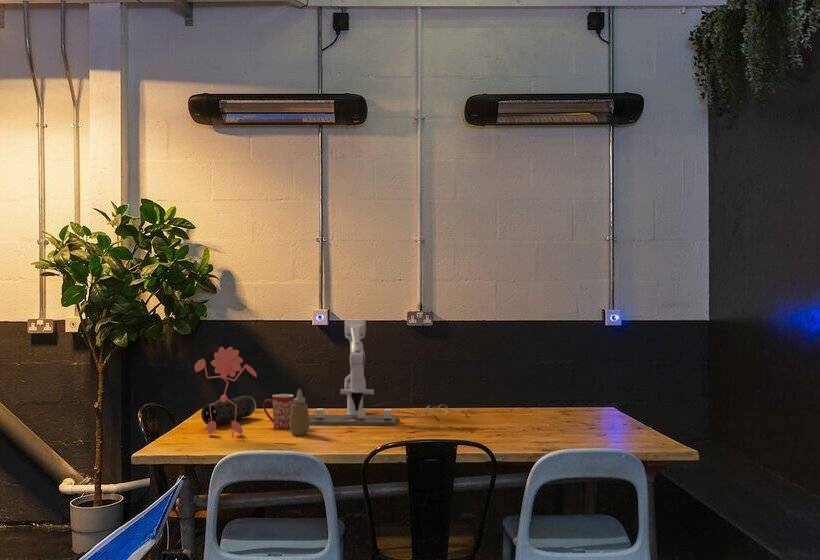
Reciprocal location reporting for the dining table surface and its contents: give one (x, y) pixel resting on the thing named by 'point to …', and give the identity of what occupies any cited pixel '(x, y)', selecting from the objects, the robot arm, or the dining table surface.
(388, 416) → the block
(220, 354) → the figurine
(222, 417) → the muzzle brake
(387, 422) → the breaker panel
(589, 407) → the dining table surface
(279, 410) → the mug
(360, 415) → the block
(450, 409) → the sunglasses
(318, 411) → the beige block
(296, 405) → the squeeze bottle
